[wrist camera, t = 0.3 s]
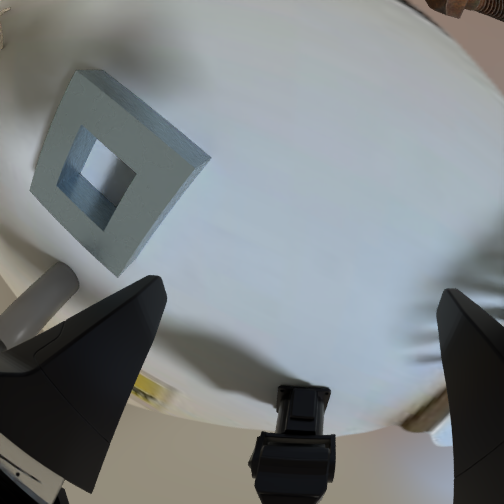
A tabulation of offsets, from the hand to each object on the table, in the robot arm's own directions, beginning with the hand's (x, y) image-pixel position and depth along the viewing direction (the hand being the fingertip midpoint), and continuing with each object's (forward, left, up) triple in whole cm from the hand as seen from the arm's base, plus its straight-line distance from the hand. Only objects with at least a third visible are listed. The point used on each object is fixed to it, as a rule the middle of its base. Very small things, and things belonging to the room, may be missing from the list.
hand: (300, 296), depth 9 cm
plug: (-12, +28, -14) cm, 34 cm away
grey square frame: (+1, +16, -14) cm, 22 cm away
